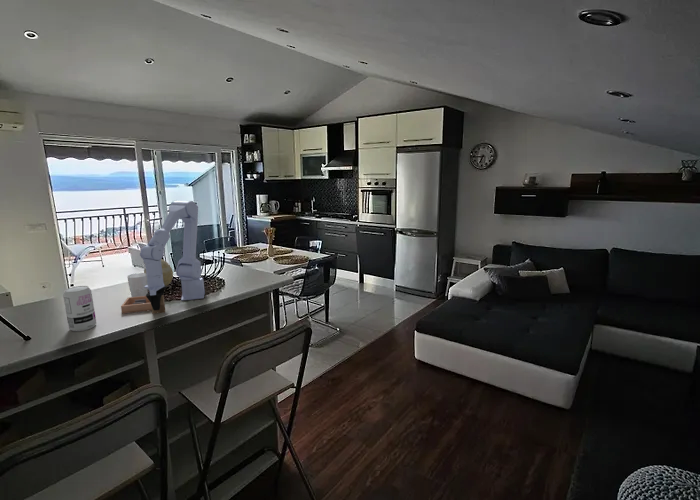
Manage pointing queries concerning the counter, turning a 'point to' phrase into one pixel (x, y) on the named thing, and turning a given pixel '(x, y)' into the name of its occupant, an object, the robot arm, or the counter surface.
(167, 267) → the fossilized egg
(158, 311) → the tall brown plank
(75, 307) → the supplement can
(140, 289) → the white cup
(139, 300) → the shallow square frame box
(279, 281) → the counter surface
